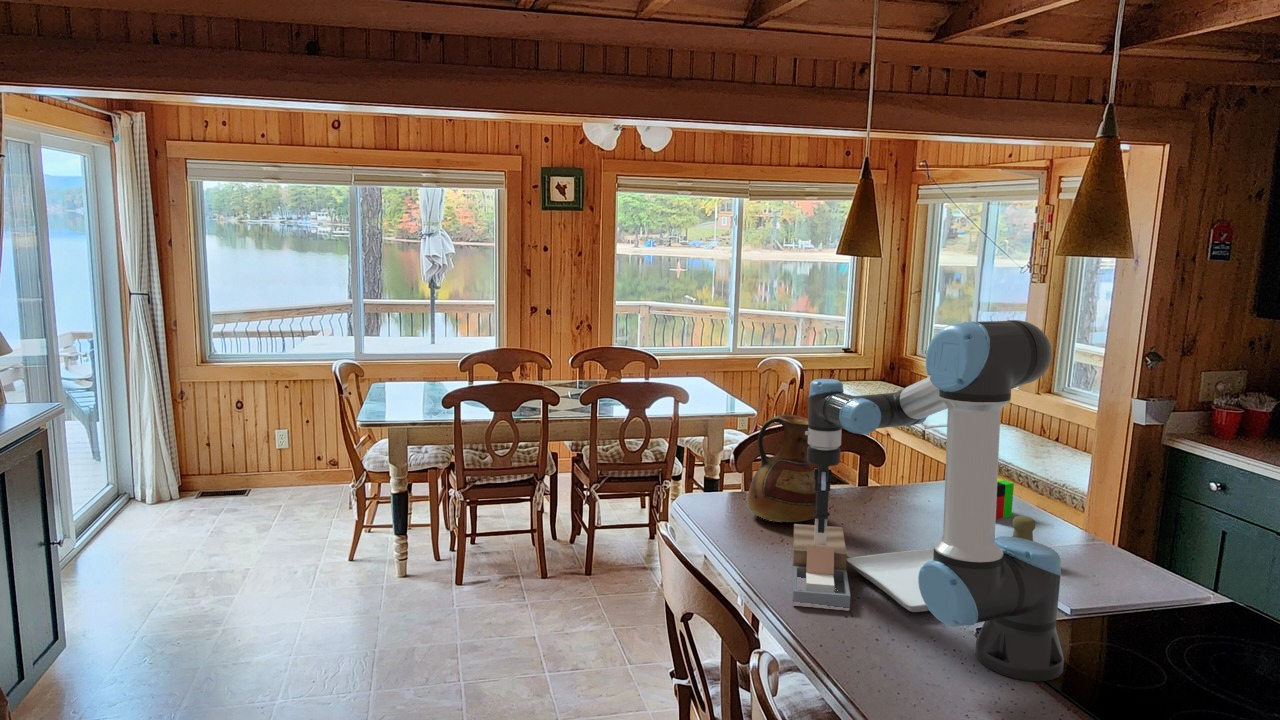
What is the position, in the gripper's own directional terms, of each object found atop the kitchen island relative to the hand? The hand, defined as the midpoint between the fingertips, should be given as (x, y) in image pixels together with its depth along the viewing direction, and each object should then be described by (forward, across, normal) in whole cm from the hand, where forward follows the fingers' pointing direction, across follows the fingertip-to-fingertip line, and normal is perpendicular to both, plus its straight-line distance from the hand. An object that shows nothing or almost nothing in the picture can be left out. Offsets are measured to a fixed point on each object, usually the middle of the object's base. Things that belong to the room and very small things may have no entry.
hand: (820, 543), depth 190 cm
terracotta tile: (+3, +3, 0) cm, 4 cm away
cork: (+8, -21, +50) cm, 55 cm away
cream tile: (+4, +10, 0) cm, 11 cm away
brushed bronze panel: (+8, -7, 0) cm, 11 cm away
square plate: (+9, +1, +24) cm, 26 cm away
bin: (+8, +10, 0) cm, 13 cm away
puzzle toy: (+8, -56, +49) cm, 75 cm away
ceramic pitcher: (+8, -40, -9) cm, 42 cm away
